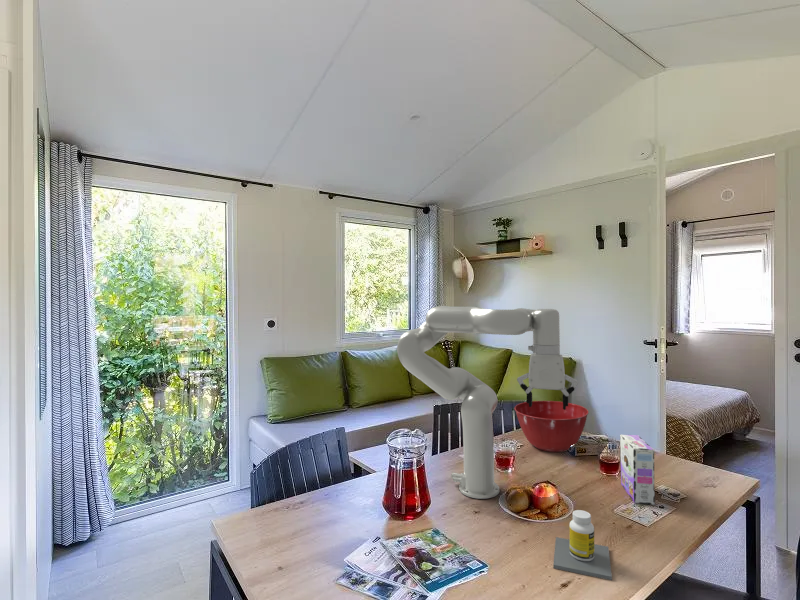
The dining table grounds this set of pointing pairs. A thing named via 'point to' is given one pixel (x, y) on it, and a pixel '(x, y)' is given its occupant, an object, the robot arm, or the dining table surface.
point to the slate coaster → (592, 568)
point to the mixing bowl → (551, 424)
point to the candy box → (637, 469)
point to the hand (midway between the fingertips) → (547, 407)
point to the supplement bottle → (581, 536)
